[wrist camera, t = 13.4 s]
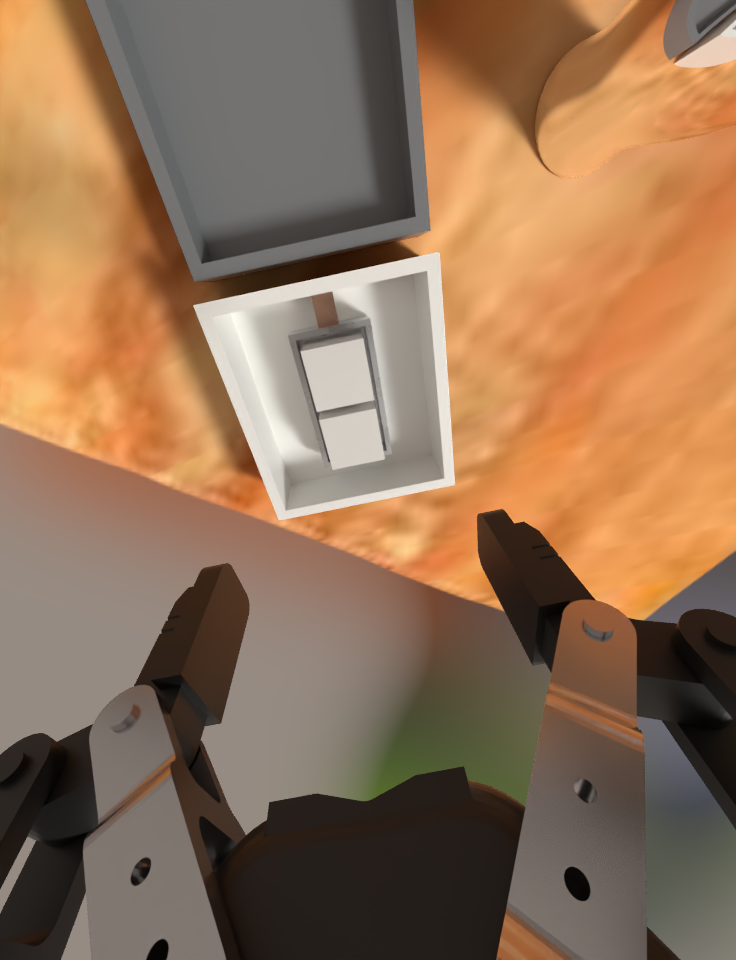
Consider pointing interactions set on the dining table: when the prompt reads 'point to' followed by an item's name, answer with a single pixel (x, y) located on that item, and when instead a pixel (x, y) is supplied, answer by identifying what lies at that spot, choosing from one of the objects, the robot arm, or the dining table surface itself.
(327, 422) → the off-white cube
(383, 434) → the scoop
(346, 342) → the light grey cube block
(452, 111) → the dining table surface
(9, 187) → the dining table surface
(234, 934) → the robot arm
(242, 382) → the bin
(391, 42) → the tray
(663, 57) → the silver metal goblet
